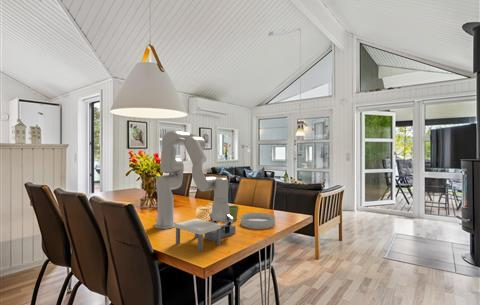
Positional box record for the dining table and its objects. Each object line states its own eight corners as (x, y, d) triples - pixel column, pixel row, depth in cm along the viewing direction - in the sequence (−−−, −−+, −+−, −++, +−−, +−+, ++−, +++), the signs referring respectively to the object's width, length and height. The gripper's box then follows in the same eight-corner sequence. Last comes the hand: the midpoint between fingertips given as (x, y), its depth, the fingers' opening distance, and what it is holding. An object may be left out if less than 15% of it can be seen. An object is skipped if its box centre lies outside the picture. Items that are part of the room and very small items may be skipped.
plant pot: (222, 219, 183) (222, 206, 183) (232, 217, 190) (232, 204, 190) (231, 221, 177) (231, 208, 177) (241, 219, 183) (242, 206, 183)
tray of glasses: (204, 239, 142) (204, 229, 142) (226, 231, 156) (226, 222, 156) (213, 242, 138) (213, 231, 138) (235, 233, 152) (235, 224, 152)
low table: (175, 243, 134) (175, 223, 134) (196, 236, 145) (196, 218, 145) (200, 252, 123) (200, 230, 123) (220, 244, 134) (221, 224, 134)
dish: (273, 230, 159) (273, 222, 159) (237, 228, 163) (237, 219, 163) (276, 221, 181) (276, 213, 181) (244, 219, 185) (244, 211, 185)
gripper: (205, 199, 149) (205, 230, 149) (228, 203, 138) (228, 236, 138) (214, 197, 155) (214, 227, 155) (237, 201, 144) (237, 233, 144)
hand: (220, 231), depth 147 cm, fingers open, 9 cm apart
